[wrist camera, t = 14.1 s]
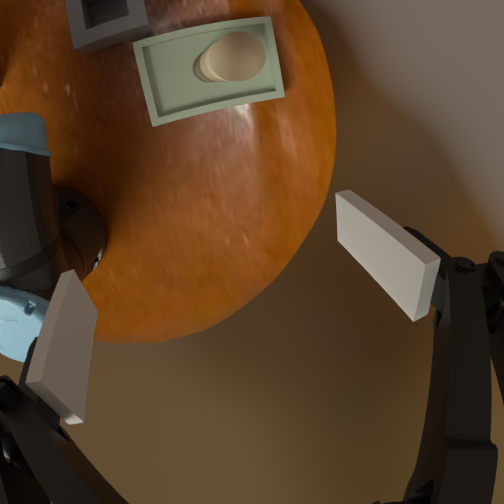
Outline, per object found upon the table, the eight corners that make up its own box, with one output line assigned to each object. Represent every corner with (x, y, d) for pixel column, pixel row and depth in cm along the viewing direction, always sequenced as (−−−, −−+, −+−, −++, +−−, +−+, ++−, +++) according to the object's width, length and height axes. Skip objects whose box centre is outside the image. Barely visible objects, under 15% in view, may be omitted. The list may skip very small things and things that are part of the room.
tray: (153, 124, 39) (152, 127, 37) (134, 45, 32) (132, 42, 30) (278, 95, 41) (284, 96, 39) (264, 19, 35) (270, 16, 32)
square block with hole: (87, 54, 31) (73, 49, 25) (77, 1, 26) (63, -12, 20) (151, 33, 32) (148, 23, 26) (140, -20, 27) (136, -37, 21)
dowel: (196, 85, 37) (218, 85, 22) (189, 55, 34) (207, 36, 20) (228, 78, 37) (270, 76, 23) (222, 48, 35) (260, 28, 21)
